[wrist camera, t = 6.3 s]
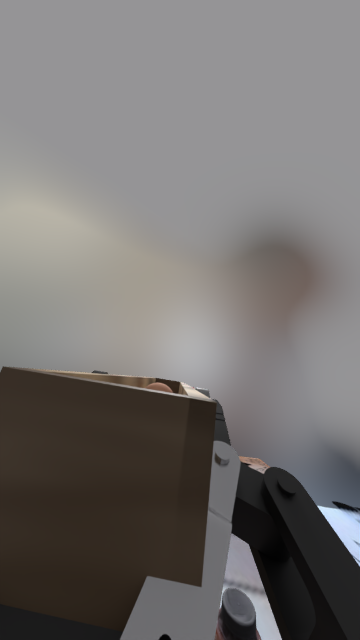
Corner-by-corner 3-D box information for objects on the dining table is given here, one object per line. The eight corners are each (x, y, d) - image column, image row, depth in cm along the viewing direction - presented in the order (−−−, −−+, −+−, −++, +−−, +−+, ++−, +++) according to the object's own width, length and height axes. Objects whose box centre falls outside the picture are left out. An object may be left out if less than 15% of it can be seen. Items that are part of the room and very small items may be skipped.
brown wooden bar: (193, 686, 3) (217, 402, 4) (-110, 615, 3) (2, 366, 4) (179, 409, 27) (183, 382, 29) (147, 404, 28) (152, 377, 29)
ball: (178, 424, 16) (184, 386, 17) (156, 432, 13) (164, 386, 14) (150, 413, 18) (156, 379, 18) (126, 419, 15) (134, 379, 16)
